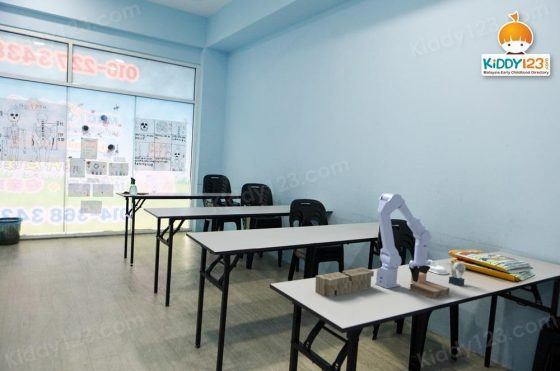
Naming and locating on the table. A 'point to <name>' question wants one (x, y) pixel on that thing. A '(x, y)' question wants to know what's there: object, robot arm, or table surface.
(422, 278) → the cube
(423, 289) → the base block
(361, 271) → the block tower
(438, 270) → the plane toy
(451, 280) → the watch
